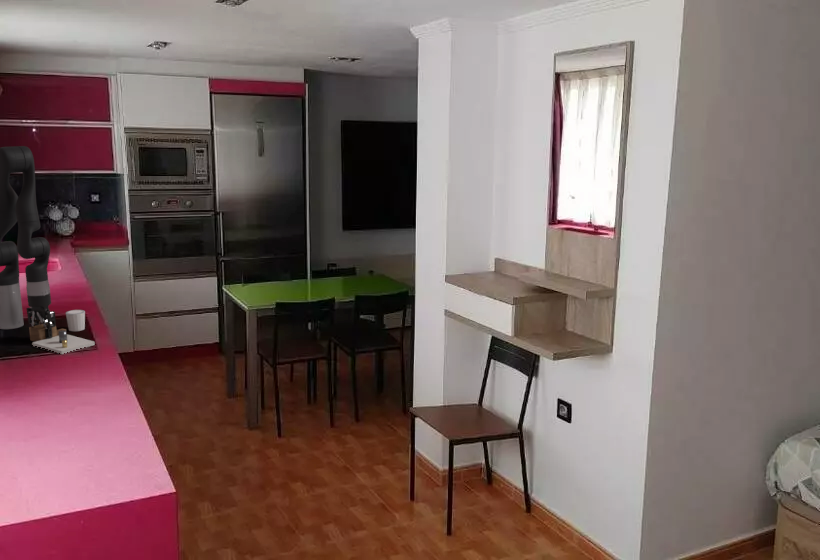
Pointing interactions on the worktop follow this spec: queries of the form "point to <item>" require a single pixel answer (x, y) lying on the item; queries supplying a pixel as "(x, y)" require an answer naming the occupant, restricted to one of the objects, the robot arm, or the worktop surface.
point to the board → (56, 346)
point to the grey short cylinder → (76, 320)
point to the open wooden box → (41, 332)
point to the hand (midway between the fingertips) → (43, 336)
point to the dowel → (64, 343)
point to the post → (62, 335)
